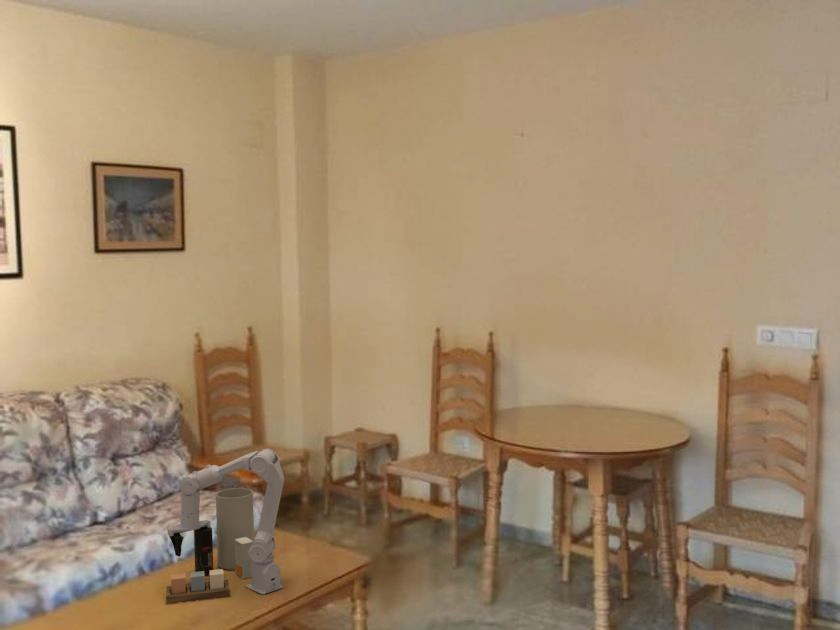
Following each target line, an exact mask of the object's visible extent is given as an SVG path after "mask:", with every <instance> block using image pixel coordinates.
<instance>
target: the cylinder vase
mask: <svg viewBox="0 0 840 630" xmlns="http://www.w3.org/2000/svg"><path fill="white" fill-rule="evenodd" d="M215 510H216V511H215V513H216V517H215V518H216V549H217V551H216V552H217V555H216V556H217V565H218V567H219V568H220V569H223V570H230V571H236V570H235V539H238V538H243V537H247V538H249V539H250V540H252V541H253V543H254V539H255V522H254V518H255V517H254V491H253V490H252V489H251V488H244V487H233V488H225V489H222V490H219V491H217V492H216V493H215Z"/></svg>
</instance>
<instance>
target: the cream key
mask: <svg viewBox="0 0 840 630" xmlns="http://www.w3.org/2000/svg"><path fill="white" fill-rule="evenodd" d="M208 576H209V582H210V590H211V589H219V588H224V580H225V579H224V578H225V574H224V569H223V568H219V569H213V570H209V575H208Z"/></svg>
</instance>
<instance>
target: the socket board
mask: <svg viewBox="0 0 840 630" xmlns="http://www.w3.org/2000/svg"><path fill="white" fill-rule="evenodd" d="M165 589H166V590H165V601H166V602H165V605H174V604H173V603H175V604H179V603H178V602H183V603H188V602H187V601H191V602H197V601H196V600H199V601H207V600H213V599H215V598H216V599H221V598H222V599H223V598H230V597H231V588H230V583H229V579H224V588H219V589H211V590H210V581H205V590H202V591H194V592H191V583H186V592H185V593H177V594H172V588H171V585H169V586H166V588H165Z"/></svg>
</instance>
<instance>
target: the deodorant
mask: <svg viewBox="0 0 840 630" xmlns="http://www.w3.org/2000/svg"><path fill="white" fill-rule="evenodd" d="M208 529H209V533H208V535H207V536H206V538H205V541H204V543H203V546H202V550H201V551H198V550H196V533H195V530H193V546H194V548H193V549H194V572H200V571H204V574H205V577H208V576H210V575H209V570H214V552H213V551H214V550H213V549H214V544H213V528H212V526H210V527H208Z"/></svg>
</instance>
